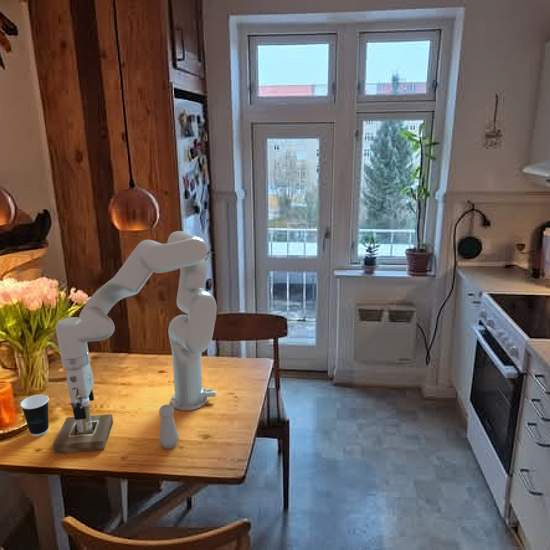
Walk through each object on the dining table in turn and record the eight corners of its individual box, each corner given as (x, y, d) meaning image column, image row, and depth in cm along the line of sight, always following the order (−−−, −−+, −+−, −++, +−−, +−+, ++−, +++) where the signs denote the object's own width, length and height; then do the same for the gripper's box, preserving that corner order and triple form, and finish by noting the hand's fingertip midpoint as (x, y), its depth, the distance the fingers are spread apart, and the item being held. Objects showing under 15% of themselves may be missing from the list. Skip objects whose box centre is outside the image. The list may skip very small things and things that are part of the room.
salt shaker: (170, 436, 147) (168, 399, 144) (183, 443, 144) (180, 406, 140) (155, 445, 143) (152, 407, 139) (167, 453, 139) (164, 414, 136)
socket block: (113, 422, 154) (112, 413, 153) (104, 450, 141) (102, 440, 140) (68, 426, 153) (66, 417, 152) (54, 454, 139) (53, 444, 138)
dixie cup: (36, 442, 145) (31, 410, 141) (20, 435, 148) (14, 403, 145) (58, 428, 151) (54, 398, 148) (42, 422, 155) (37, 392, 152)
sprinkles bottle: (95, 438, 146) (90, 400, 143) (79, 443, 144) (74, 404, 140) (91, 431, 150) (87, 393, 146) (76, 435, 148) (71, 397, 144)
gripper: (81, 372, 132) (90, 425, 137) (95, 345, 148) (103, 393, 153) (53, 375, 131) (63, 428, 136) (70, 347, 147) (79, 395, 152)
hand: (84, 409), depth 145 cm, fingers open, 9 cm apart
